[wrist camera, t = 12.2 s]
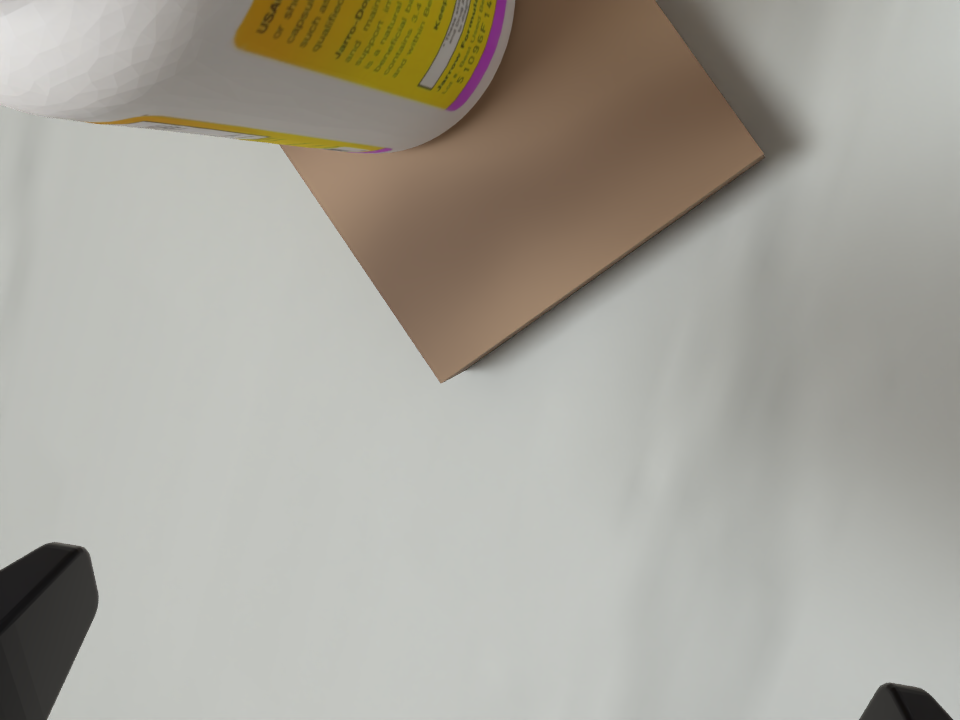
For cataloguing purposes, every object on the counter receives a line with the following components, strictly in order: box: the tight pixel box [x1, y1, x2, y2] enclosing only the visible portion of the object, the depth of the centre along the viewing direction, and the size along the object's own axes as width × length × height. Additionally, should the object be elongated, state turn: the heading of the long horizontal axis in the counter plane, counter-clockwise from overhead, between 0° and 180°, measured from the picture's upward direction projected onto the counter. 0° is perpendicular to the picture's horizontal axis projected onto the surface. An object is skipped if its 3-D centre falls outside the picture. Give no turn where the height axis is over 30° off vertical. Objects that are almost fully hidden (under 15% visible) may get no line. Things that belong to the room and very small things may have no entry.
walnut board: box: [279, 0, 765, 383], centre depth 19 cm, size 16×9×2 cm, turn 37°
